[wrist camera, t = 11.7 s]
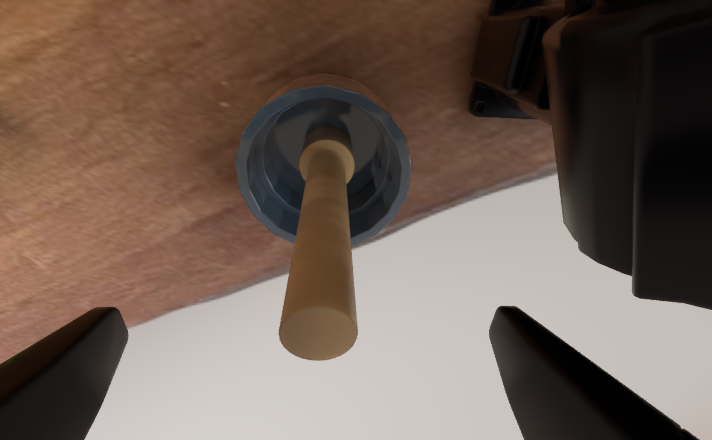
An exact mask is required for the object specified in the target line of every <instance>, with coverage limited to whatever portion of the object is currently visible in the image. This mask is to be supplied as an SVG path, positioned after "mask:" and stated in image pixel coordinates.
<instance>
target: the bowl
mask: <svg viewBox="0 0 712 440" xmlns="http://www.w3.org/2000/svg"><path fill="white" fill-rule="evenodd" d="M324 126H330V127H335V128H337V129H339V130H341V131H343V132H344V133H345V134H346V135H347V136H348V138H349V139H350V142H351V144H352V149H353V156H354V163H355V169H354V173H353V176H352V178H351V180H350V181H349V182H348V183H347V184H346V187H347V200H348V213H349V226H350V239H351V246H353V245H355V244H357V243H360V242H362V241H364V240H366V239H369V238H371V237H373V236H375V235H376V234H377V233H379V232H380V231H381V230H382V229H383V228H384V227H385V226H386V225H387V224H389V223H390V222H391V221H392V220H393V219H394V218H395V217H396V215H397V213H398V212H399V210H400V208H401V206H402V204H403V203H404V201H405V199H406V197H407V195H408V192H409V185H410V178H411V171H412V163H411V159H410V154H409V150H408V146H407V141H406V138H405V136H404V134H403V133H402V131H401V130H400V128H399V126H398V125H397V123H396V122H395V120H394V119H393V117H392V116H391V114H390V113H389V111H388V110H387V108H386V107H385V105H384V104H383V102H382V101H381V99H380V98H379V97H378V96H377V94H375V93H374V92H372V91H371V90H370V89H368V88H367V87H365V86H364V85H362V84H361V83H359V82H358V81H357V80H354V79H351V78H347V77H343V76H339V75H335V74H331V73H328V74H327V73H322V74H315V75H308V76H301V77H298V78H297V79H295V80H293V81H291V82H290V83H288V84H286V85H284V86H283V87H281V88H279V89H278V90H277V91H275V92H274V93H273V94H272V96H271V97H270V98H269V99H268V100H267V101H266V102H265V104H264V105H263V106H262V107H261V108H260V109H259V111H258V112H257V113H256V115H255V116H254V117H253V119H252V120H251V121H250V122H249V124H248V125H247V126H246V128H245V129H244V130H243V132H242V135H241V139H240V143H239V147H238V151H237V155H236V159H235V165H236V172H237V180H238V187H239V191H240V193H241V195H242V196H243V198H244V200H245V202H246V204H247V206H248V208H249V209H250V211H251V213H252V214H253V216H254V217H255V218H256V219H257V220H258V221H260V222H261V223H262V224H263V225H264V226H265V227H266V228H267V229H268V230H269V231H270V232H271V233H273V234H274V235H276V236H278V237H281V238H283V239H285V240H287V241H289V242H291V243H293V244H295V239H296V233H297V228H298V222H299V217H300V211H301V206H302V200H303V195H304V189H305V183H306V182H305V180H304V179H303V177H302V176H301V173H300V170H299V159H300V155H301V151H302V148H303V144H304V141H305V139H306V137H307V136H308V135H309V133H311V132H312V131H313V130H315V129H317V128H319V127H324Z"/></svg>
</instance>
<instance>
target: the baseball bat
mask: <svg viewBox="0 0 712 440" xmlns="http://www.w3.org/2000/svg"><path fill="white" fill-rule="evenodd" d="M354 169H355V163H354V156H353V149H352V144H351V142H350V139H349V138H348V136H347V135H346V134H345V133H344V132H343V131H341V130H339V129H337V128H335V127H330V126H324V127H319V128H317V129H315V130H313V131H312V132H311V133H309V135H308V136H307V137H306V139H305V141H304V144H303V148H302V151H301V155H300V159H299V170H300V173H301V176H302V177H303V179H304V180H305V182H306V183H305V189H304V195H303V200H302V206H301V211H300V217H299V222H298V228H297V233H296V239H295V244H294V250H293V255H292V261H291V267H290V272H289V278H288V284H287V289H286V294H285V300H284V306H283V311H282V317H281V322H280V327H279V338H280V341H281V343H282V344H283V346H284V347H285V348H286V349H287V350H288V351H289V352H290V353H292V354H293V355H295V356H297V357H300V358H303V359H308V360H328V359H333V358H336V357H338V356H340V355H342V354H344V353H346V352H347V351H348V350H349V349H350V348H351V347H352V346H353V345H354V343H355V341H356V339H357V335H358V329H357V316H356V305H355V291H354V279H353V265H352V252H351V239H350V226H349V213H348V200H347V187H346V184H347V183H348V182H349V181H350V180H351V178H352V176H353V173H354Z"/></svg>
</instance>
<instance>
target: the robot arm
mask: <svg viewBox="0 0 712 440" xmlns="http://www.w3.org/2000/svg"><path fill="white" fill-rule="evenodd" d="M471 76H472V78H473V79H474V84H473V88H472V93H471V97H470V102H469V111H470V112H471V113H472V114H473V115H475V116H478V117H500V118H522V119H539V120H541V121H543V122H546V123H548V124H550V125H552V130H553V138H554V146H555V155H556V163H557V171H558V180H559V188H560V196H561V205H562V213H563V221H564V224H565V225H566V227H567V229H568V230H569V232H570V233H571V235H572V237H573V238H574V239H575V240H576V241H577V242H578V248H579V250H580V251H581V252H582V253H584V254H586V255H587V256H589V257H590V258H591V259H593V260H594V261H596V262H598V263H600V264H602V265H605V266H607V267H609V268H612V269H614V270H616V271H619V272H621V273H624V274H627V275H630V276H632V293H633V294H634V296H636V297H638V298H641V299H650V300H659V301H669V302H678V303H686V304H690V305H694V306H698V307H702V308H706V309H711V310H712V0H492V1H491V6H490V10H489V15H488V17H487V18H486V19H485V20H484V21H483V22H482V25H481V30H480V35H479V39H478V44H477V49H476V54H475V58H474V63H473V68H472V72H471ZM480 102H482V107H481V109H479V110H476V105H477V104H478V103H480ZM489 337H490V341H491V344H492V348H493V351H494V354H495V358H496V361H497V364H498V368H499V371H500V375H501V378H502V381H503V385H504V388H505V391H506V394H507V397H508V400H509V403H510V405H511V408H512V411H513V413H514V416H515V418H516V420H517V423H518V425H519V428H520V430H521V433H522V435H523V438H524V440H699V439H698V438H696V437H695V436H694V435H692V434H691V433H690V432H688V431H687V430H685V429H681V427H680V425H678V424H677V423H676V422H674V421H673V420H672V419H670V418H669V417H667V416H666V415H665V414H663V413H662V412H661V411H659V410H658V409H656V408H655V407H654V406H652V405H651V404H650V403H648V402H647V401H645V400H644V399H643V398H641V397H640V396H638V395H637V394H636V393H634V392H633V391H632V390H630V389H629V388H628V387H626V386H625V385H623V384H622V383H621V382H619V381H618V380H617V379H615V378H614V377H612V376H611V375H610V374H608V373H607V372H606V371H604V370H603V369H602V368H600V367H599V366H597V365H596V364H595V363H593V362H592V361H591V360H589V359H588V358H586V357H585V356H583V355H582V354H581V353H580V352H578V351H577V350H575V349H574V348H573V347H571V346H570V345H569V344H567V343H566V342H564V341H563V340H562V339H560V338H559V337H558V336H556V335H555V334H553V333H552V332H550V331H549V330H548V329H547V328H545V327H544V326H542V325H541V324H540V323H538V322H537V321H536V320H534V319H533V318H531V317H530V316H529V315H527V314H526V313H525V312H523V311H522V310H520V309H519V308H517V307H515V306H500V307H498V308H497V310H496V312H495V315H494V318H493V320H492V323H491V326H490V330H489ZM127 341H128V330H127V328H126V325H125V323H124V321H123V318H122V316H121V313H120V311H119V310H118V309H117V308H115V307H96V308H94V309H92V310H90V311H88V312H87V313H85V314H83V315H82V316H80V317H78V318H77V319H75V320H73V321H72V322H70V323H68V324H67V325H65V326H63V327H62V328H60V329H58V330H57V331H55V332H53V333H52V334H50V335H48V336H47V337H45V338H43V339H42V340H40V341H38V342H37V343H35V344H33V345H32V346H30V347H28V348H27V349H25V350H23V351H22V352H20V353H18V354H17V355H15V356H13V357H12V358H10V359H8V360H7V361H5V362H3V363H2V364H0V440H84V439H85V437H86V435H87V433H88V431H89V429H90V428H91V425H92V424H93V422H94V420H95V418H96V416H97V414H98V412H99V410H100V408H101V405H102V403H103V401H104V398H105V396H106V393H107V391H108V388H109V386H110V384H111V381H112V378H113V376H114V374H115V371H116V369H117V366H118V364H119V361H120V359H121V356H122V354H123V351H124V349H125V346H126V344H127Z"/></svg>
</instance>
